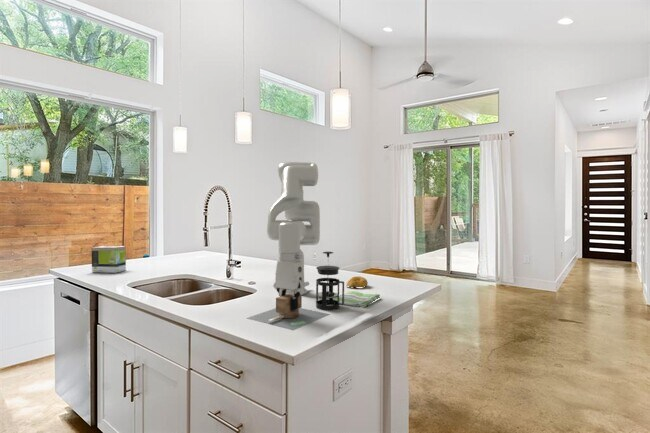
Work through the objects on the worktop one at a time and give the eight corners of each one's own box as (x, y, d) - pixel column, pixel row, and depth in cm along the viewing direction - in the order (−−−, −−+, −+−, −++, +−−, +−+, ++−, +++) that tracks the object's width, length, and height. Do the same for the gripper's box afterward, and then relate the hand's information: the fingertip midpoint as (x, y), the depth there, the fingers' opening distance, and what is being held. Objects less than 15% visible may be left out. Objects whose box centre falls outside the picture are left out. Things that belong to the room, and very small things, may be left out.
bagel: (342, 285, 190) (342, 276, 190) (361, 284, 195) (361, 275, 194) (351, 290, 181) (351, 280, 181) (371, 288, 186) (371, 278, 185)
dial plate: (285, 308, 148) (285, 304, 148) (329, 318, 137) (329, 313, 137) (246, 322, 131) (246, 317, 131) (293, 334, 119) (293, 329, 119)
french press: (310, 312, 143) (310, 252, 142) (318, 306, 152) (318, 249, 151) (340, 315, 140) (340, 254, 139) (346, 309, 149) (347, 251, 148)
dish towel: (320, 306, 154) (320, 297, 154) (347, 294, 174) (347, 287, 173) (358, 313, 145) (358, 304, 145) (381, 300, 165) (381, 292, 165)
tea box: (126, 270, 226) (126, 245, 225) (115, 273, 216) (115, 247, 215) (103, 269, 227) (102, 245, 227) (91, 272, 217) (90, 247, 217)
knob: (290, 310, 140) (290, 291, 140) (305, 313, 136) (305, 294, 136) (262, 320, 128) (262, 300, 127) (277, 324, 124) (277, 303, 123)
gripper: (314, 258, 131) (314, 309, 132) (278, 253, 141) (278, 302, 142) (301, 260, 125) (301, 315, 126) (264, 256, 135) (264, 306, 135)
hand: (289, 307), depth 134 cm, fingers open, 4 cm apart
